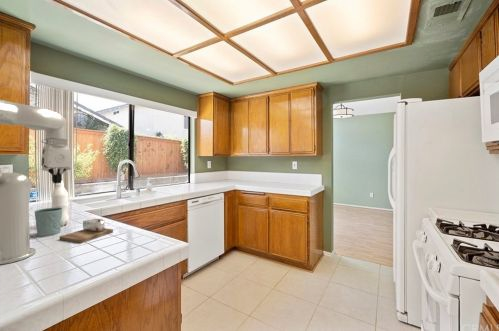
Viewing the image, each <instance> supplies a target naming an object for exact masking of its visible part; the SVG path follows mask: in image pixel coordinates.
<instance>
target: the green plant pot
mask: <svg viewBox="0 0 499 331" xmlns="http://www.w3.org/2000/svg"><path fill="white" fill-rule="evenodd" d="M34 216H35V219H34V220H35V227H36V236H37V237H38V238H44V237H51V236H55V235H58V234H60V233H61V231H62V230H61V228H62V226H61V217H62V208H52V207H49V208H48V207H47V208H41V209H40V208H39V209H37V210H34Z"/></svg>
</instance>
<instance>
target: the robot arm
mask: <svg viewBox="0 0 499 331" xmlns="http://www.w3.org/2000/svg"><path fill="white" fill-rule="evenodd" d="M0 125H7V126H8V125H9V126H24V127H25V128H27V129H30V130H31V131H32V130H33V131H44V139H42V140H41V143H42V144H44V146H43V147H42V150H41V158H40V160H41V163H40V164H41V170H42V172H43V171H44V172H48V173H49V174H50V175H51V180H52V184H56V183H61V181H62V180H63V178H62V176H63V175H64V173H65V172H66V171H69V170H71V168H72V166H73V165H72V164H73V162H72V153H71V149H70V146H68V143H67V142H68V140H67V136H68V135H67V131H68V130H67V119H66V118H65V117H64V116H63V115H62V114H60V113H59V112H56V111H54V110H50V109H48V108H45V107H39V106H34V105H28V104H23V103H19V102H15V101H14V102H13V101H8V100H4V99H0ZM31 191H32V181H31V179H30V178H29V177H28V176H27V175H25V174H23V173H20V172H19V173H18V172H2V168H0V265H6V264H10V263H11V264H12V263H15V262H19V261H22V260H25V259H28V258H29V257H32V256H34V255H35V254H36V250H37V249H36V248H34V247H31V241H30V239H31V237H30V236H31V235H30V212H29V211H30V209H29V207H30V206H29V203H30V195H31Z"/></svg>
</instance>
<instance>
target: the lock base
mask: <svg viewBox="0 0 499 331" xmlns="http://www.w3.org/2000/svg"><path fill="white" fill-rule="evenodd" d="M99 219H100V218H93V219H91V220H96V221H98V220H99ZM101 219H102V218H101ZM102 220H104V219H102ZM113 232H114V229H112V228H108V227H107V228H106V227H105V230H104V231H100V232H96V231H92V230H86V229H83V228H82V229H80V230H76V231H73V232H70V233H67V234H64V235H61V236H59V240H60V241H65V242H71V243H77V244H83V243H87V242H89V241H90V242H91V241H92V240H95V239H98V238H100V237H104V236H106V235H110V234H113Z"/></svg>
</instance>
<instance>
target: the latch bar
mask: <svg viewBox="0 0 499 331" xmlns="http://www.w3.org/2000/svg"><path fill="white" fill-rule="evenodd" d="M98 219H99V220H98V221H96V220H92V219H86V220H82V230H83V229H86V230H92V231H96V232H100V231H104V230H105V228H106V227H105V220H104V219H103V220H102V218H98Z"/></svg>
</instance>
